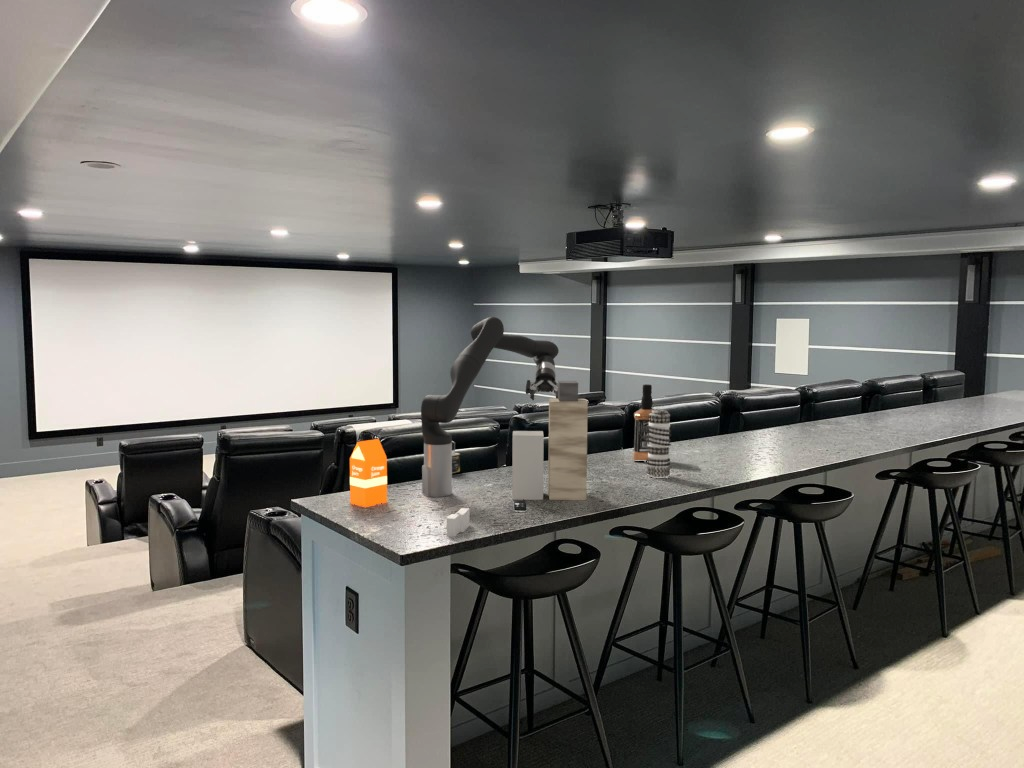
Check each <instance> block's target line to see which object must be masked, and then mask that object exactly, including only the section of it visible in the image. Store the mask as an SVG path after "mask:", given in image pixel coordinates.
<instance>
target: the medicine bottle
mask: <svg viewBox="0 0 1024 768" xmlns="http://www.w3.org/2000/svg"><path fill="white" fill-rule="evenodd" d="M460 462H461V453H458V452H456V442H455V441H453V440H452V474H456V473H460V471H461V463H460Z"/></svg>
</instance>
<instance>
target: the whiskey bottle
mask: <svg viewBox="0 0 1024 768" xmlns="http://www.w3.org/2000/svg"><path fill="white" fill-rule="evenodd" d="M652 389H653V388H652V384H642V396H641V400H640V401H641V402H640V403H641V405H640V406H641V408H639V409H638V410H636V411H635V412H634V413H633V417H634V435H633V437H634V439H633V448H632V460H633V459H634V460H646V461H648V460H647V458H648V453H649V446H648V445H647V444H648V443H649V441H647V438H648V437H647V434H648V433H649V432H647V428H648V427H647V425H649V414H650V413H651V411H652V410H654V409H653V398H652V392H653V391H652Z"/></svg>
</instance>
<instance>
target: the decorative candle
mask: <svg viewBox="0 0 1024 768" xmlns="http://www.w3.org/2000/svg"><path fill="white" fill-rule="evenodd" d="M670 417H671V414H670V413H669V411H668V410H666V409H653V410H652V411H651V413H650V414H649V425H647V427H648V428H647V432H649V433H648V434H647V437H648V438H647V441H649V443H648V444H647V445H648V446H649V453H648V458H647V460H648V462H646V464H647V466H646V473H647V474H646V475H650V476H654V477H666V476H668V475H669V476H670V474H671V472H670V470H671V467H670V465H671V463H670V461H671V458H670V447H671V445H672V444H671V443H670V442H672V439H670V437H672V434H671V433H672V429H670V428H671V422H670V419H671V418H670Z"/></svg>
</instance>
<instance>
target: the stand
mask: <svg viewBox="0 0 1024 768" xmlns="http://www.w3.org/2000/svg"><path fill="white" fill-rule="evenodd" d="M588 404H589V403H588V401H587V399H586V398H578V401H559V400H558V399H556V398H548V463H547V465H548V466H547V467H548V471H547V473H548V474H547V476H548V478H547V480H548V481H547V484H548V485H547V489H548V490H547V492H548V493H547V494H548V500H550V501H587V484H588V483H587V482H588V481H587V477H588V476H587V475H588V471H587V470H588V468H587V467H588V407H589V405H588Z"/></svg>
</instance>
